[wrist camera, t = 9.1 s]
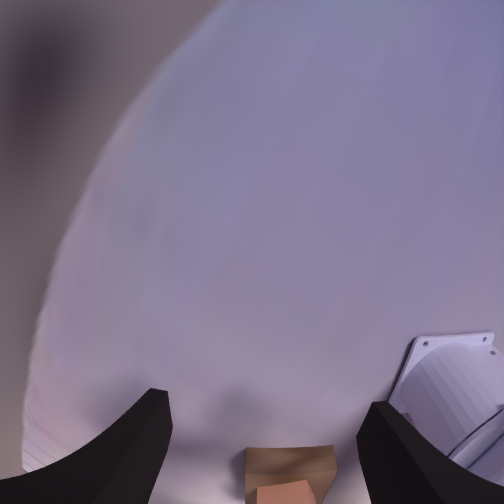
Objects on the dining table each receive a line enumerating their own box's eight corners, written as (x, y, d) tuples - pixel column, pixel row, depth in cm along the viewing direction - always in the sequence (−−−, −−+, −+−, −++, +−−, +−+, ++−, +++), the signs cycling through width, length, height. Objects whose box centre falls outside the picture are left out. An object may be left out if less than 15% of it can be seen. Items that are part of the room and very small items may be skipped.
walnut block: (332, 442, 22) (338, 470, 19) (318, 479, 24) (321, 503, 21) (246, 444, 22) (244, 473, 19) (247, 481, 24) (245, 505, 21)
